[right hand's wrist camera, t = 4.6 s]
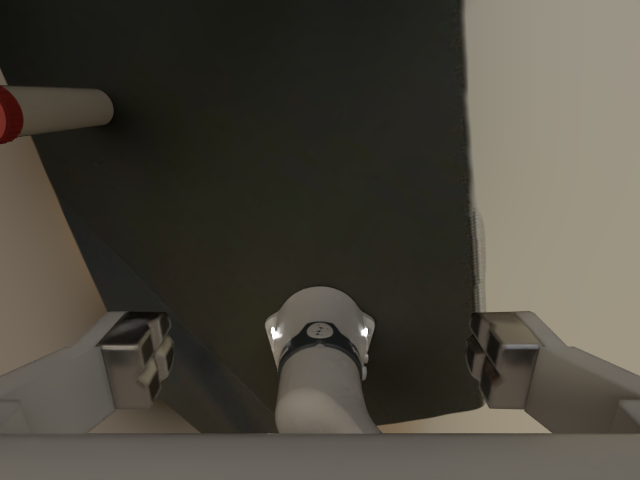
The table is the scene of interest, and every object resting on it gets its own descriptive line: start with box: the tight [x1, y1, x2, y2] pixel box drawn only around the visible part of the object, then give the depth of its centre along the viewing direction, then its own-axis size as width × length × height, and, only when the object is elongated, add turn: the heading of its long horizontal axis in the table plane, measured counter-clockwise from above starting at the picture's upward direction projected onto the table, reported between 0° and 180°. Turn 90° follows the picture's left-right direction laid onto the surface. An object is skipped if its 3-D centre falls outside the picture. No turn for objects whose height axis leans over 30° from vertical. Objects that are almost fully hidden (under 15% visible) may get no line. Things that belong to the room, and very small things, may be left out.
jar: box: [1, 85, 114, 137], centre depth 44 cm, size 5×5×20 cm
